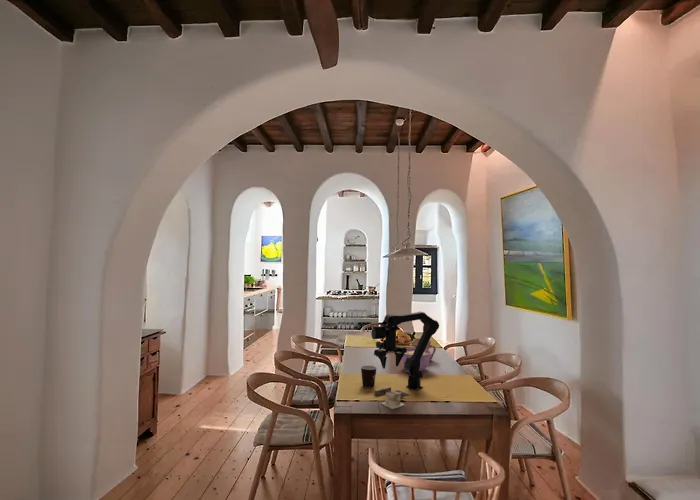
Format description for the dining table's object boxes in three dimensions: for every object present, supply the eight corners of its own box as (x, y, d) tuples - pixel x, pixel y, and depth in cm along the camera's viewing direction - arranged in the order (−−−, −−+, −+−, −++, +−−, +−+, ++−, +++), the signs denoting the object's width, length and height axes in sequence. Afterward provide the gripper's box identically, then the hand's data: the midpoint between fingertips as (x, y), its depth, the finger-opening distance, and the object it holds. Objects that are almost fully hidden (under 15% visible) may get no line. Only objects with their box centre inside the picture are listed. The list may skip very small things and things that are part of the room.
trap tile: (398, 390, 208) (398, 390, 208) (408, 394, 201) (408, 394, 201) (391, 392, 205) (391, 391, 205) (401, 396, 198) (401, 396, 198)
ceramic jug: (409, 362, 266) (409, 341, 266) (409, 357, 280) (409, 337, 280) (436, 364, 263) (436, 343, 263) (434, 358, 277) (435, 338, 277)
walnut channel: (389, 391, 206) (389, 386, 206) (403, 397, 197) (403, 392, 197) (374, 395, 201) (374, 390, 201) (388, 401, 192) (388, 396, 192)
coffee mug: (367, 389, 209) (367, 370, 210) (357, 385, 216) (357, 366, 216) (383, 385, 216) (383, 367, 216) (373, 381, 223) (373, 363, 223)
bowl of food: (429, 366, 257) (429, 348, 257) (432, 375, 237) (433, 355, 237) (399, 364, 259) (399, 347, 259) (399, 373, 239) (400, 354, 239)
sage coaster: (393, 400, 193) (393, 399, 193) (404, 405, 186) (404, 404, 186) (381, 403, 188) (381, 402, 188) (392, 409, 182) (392, 407, 182)
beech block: (393, 400, 191) (393, 390, 191) (400, 404, 187) (400, 393, 187) (385, 402, 188) (385, 392, 188) (392, 406, 184) (392, 395, 184)
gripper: (393, 334, 221) (393, 361, 221) (367, 337, 211) (367, 366, 210) (407, 337, 212) (407, 366, 212) (380, 341, 201) (380, 371, 201)
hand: (390, 367), depth 209 cm, fingers open, 9 cm apart
